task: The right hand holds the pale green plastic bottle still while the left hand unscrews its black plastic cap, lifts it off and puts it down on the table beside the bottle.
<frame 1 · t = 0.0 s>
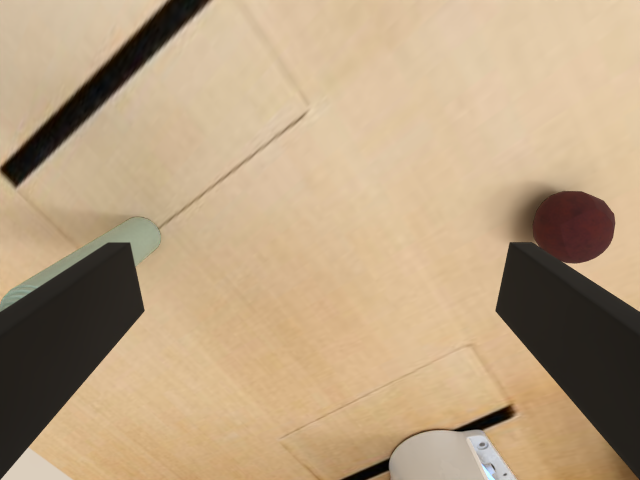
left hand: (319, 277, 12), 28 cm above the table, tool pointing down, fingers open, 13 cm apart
dark maroon ball: (550, 215, 41), on the table
bottle: (141, 235, 42), on the table
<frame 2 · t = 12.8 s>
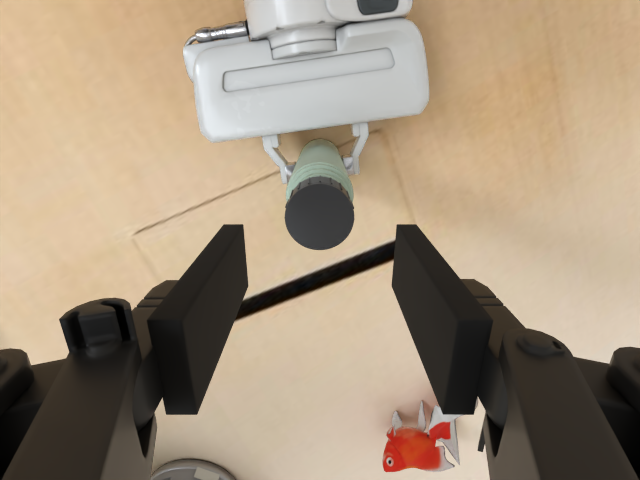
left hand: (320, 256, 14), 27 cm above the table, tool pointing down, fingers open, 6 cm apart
right hand: (321, 178, 34), fingers closed on bottle, 4 cm apart
fish: (421, 407, 52), on the table
cap: (319, 216, 19), point 21 cm above the table, screwed on, not yet turned
bottle: (319, 160, 39), on the table, touching right hand
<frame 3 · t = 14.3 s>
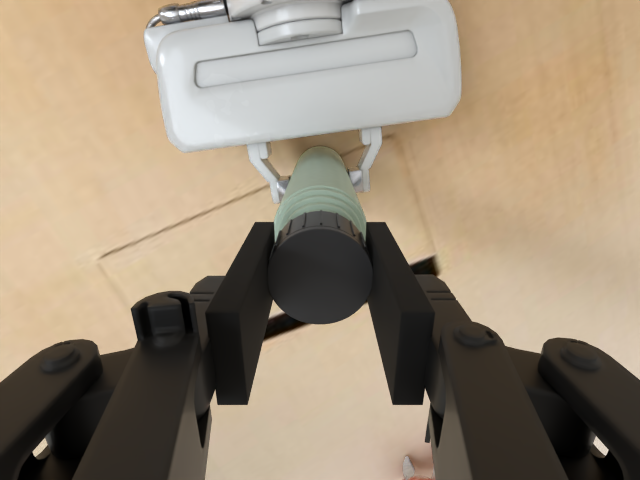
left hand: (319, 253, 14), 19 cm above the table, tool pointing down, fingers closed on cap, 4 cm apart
right hand: (322, 196, 27), fingers closed on bottle, 4 cm apart
fish: (437, 451, 45), on the table
cap: (320, 275, 13), point 21 cm above the table, screwed on, not yet turned, touching left hand
bottle: (320, 171, 32), on the table, touching right hand
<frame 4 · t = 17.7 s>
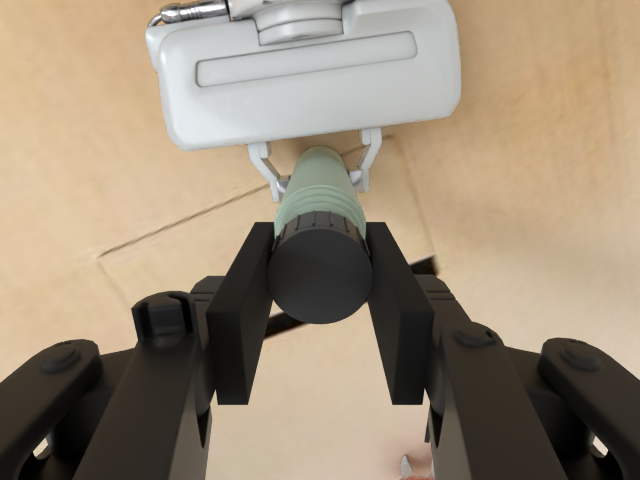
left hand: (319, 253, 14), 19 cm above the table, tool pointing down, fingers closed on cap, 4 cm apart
right hand: (322, 195, 27), fingers closed on bottle, 4 cm apart
fish: (434, 451, 46), on the table
cap: (319, 275, 13), point 21 cm above the table, turned 103° so far, risen 0.1 cm, still on its thread, touching left hand
bottle: (320, 170, 33), on the table, touching right hand
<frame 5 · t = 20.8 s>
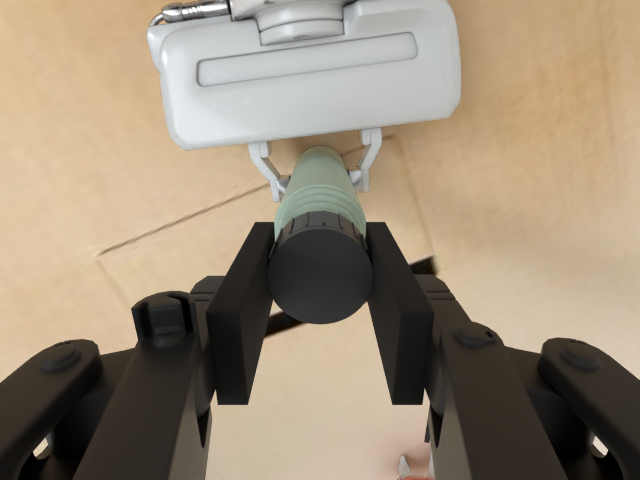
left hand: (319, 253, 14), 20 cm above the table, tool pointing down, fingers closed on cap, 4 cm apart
right hand: (322, 195, 27), fingers closed on bottle, 4 cm apart
fish: (432, 451, 46), on the table
cap: (320, 275, 13), point 22 cm above the table, turned 206° so far, risen 0.2 cm, still on its thread, touching left hand
bottle: (320, 170, 33), on the table, touching right hand
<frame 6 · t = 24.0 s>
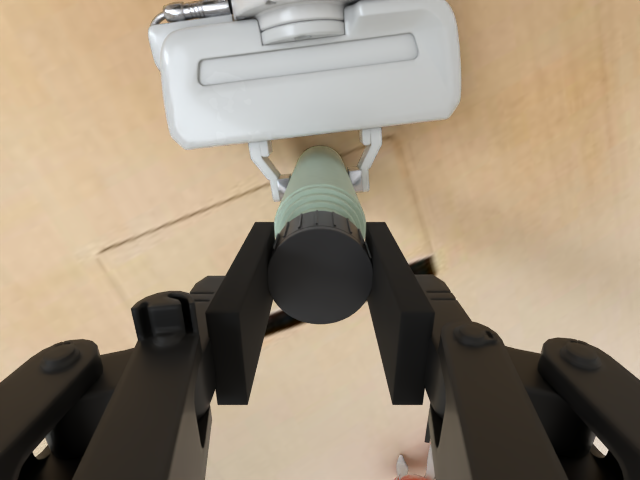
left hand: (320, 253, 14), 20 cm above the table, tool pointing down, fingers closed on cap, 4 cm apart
right hand: (321, 195, 27), fingers closed on bottle, 4 cm apart
fish: (430, 450, 46), on the table
cap: (320, 275, 12), point 22 cm above the table, turned 309° so far, risen 0.3 cm, still on its thread, touching left hand
bottle: (320, 170, 33), on the table, touching right hand
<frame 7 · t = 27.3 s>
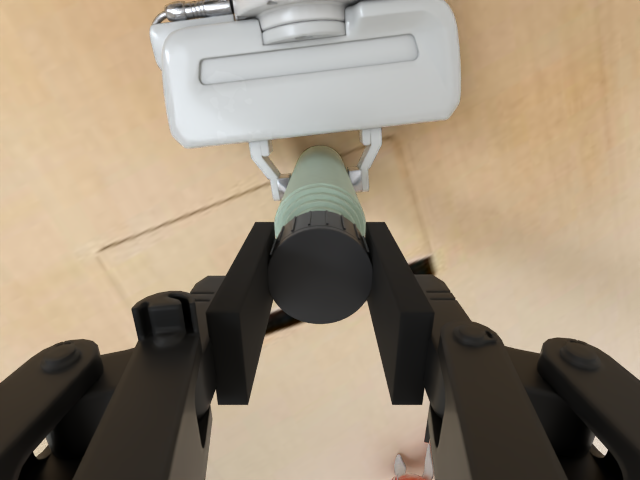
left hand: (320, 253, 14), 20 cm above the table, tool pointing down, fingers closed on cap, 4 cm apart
right hand: (321, 194, 28), fingers closed on bottle, 4 cm apart
fish: (428, 450, 46), on the table
cap: (320, 275, 13), point 22 cm above the table, turned 412° so far, risen 0.4 cm, still on its thread, touching left hand
bottle: (320, 170, 33), on the table, touching right hand
when the left hand's fingers open (1 cm above the table, at t = 34.0 s): cap drops 1 cm, point 2 cm above the table.
when the right hand's fingers open (6 cm above the table, at t = 35.3 s): bottle stays where it is, on the table.
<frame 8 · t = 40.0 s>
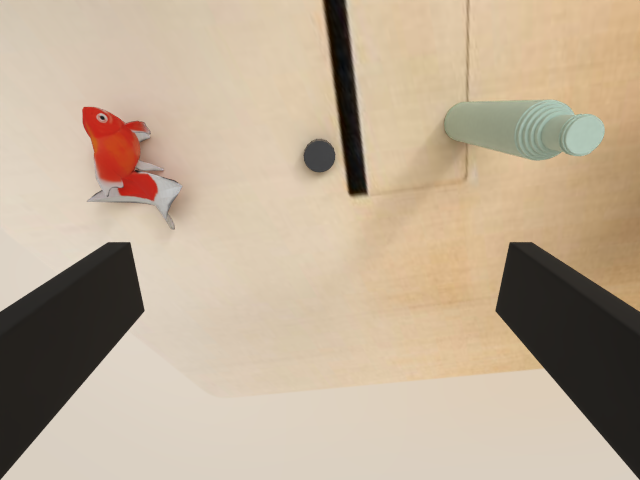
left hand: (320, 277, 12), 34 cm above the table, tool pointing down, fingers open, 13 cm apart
fish: (152, 168, 45), on the table
cap: (319, 156, 42), point 2 cm above the table, off its thread
bottle: (462, 121, 43), on the table
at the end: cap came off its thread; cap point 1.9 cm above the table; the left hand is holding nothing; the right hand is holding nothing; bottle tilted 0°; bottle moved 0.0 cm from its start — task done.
